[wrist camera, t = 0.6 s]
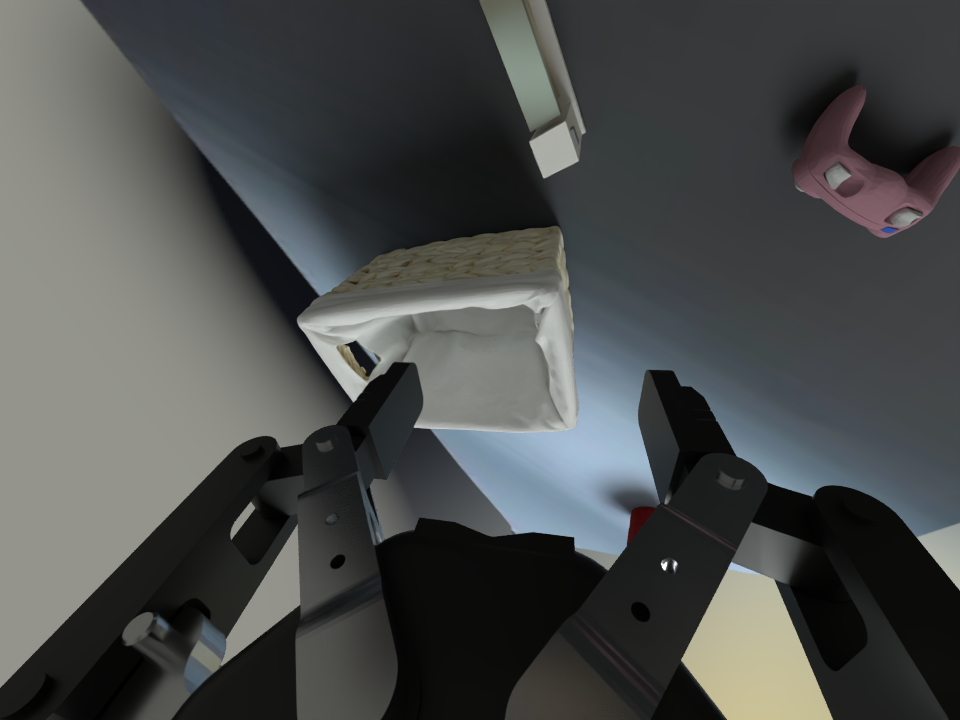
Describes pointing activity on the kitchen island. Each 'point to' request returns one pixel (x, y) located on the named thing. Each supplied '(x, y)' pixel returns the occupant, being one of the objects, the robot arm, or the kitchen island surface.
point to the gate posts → (562, 134)
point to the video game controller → (867, 173)
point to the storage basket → (462, 329)
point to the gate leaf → (524, 59)
